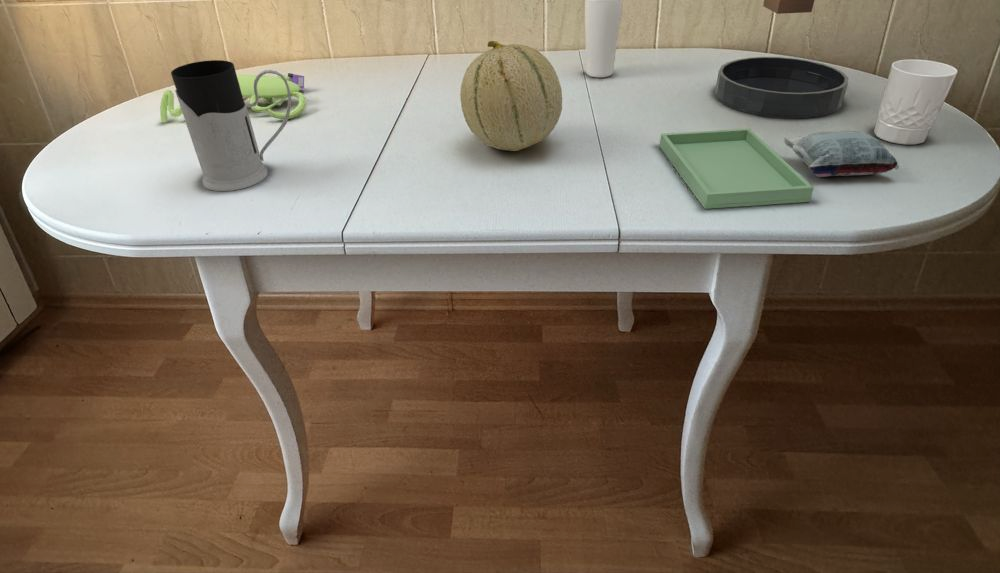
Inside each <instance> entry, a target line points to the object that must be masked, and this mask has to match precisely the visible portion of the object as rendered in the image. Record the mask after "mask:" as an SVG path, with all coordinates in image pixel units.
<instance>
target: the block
mask: <svg viewBox="0 0 1000 573" xmlns="http://www.w3.org/2000/svg"><path fill="white" fill-rule="evenodd" d="M814 4H815V0H763V4H762V7H763V8H766V9H768V10H769V11H771V12H772V13H773V12H774V13H775V14H777V15H781V14H801V13H802V14H803V13H812V12H813V8H814Z"/></svg>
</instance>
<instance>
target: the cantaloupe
mask: <svg viewBox="0 0 1000 573" xmlns="http://www.w3.org/2000/svg"><path fill="white" fill-rule="evenodd" d="M487 47H488V48H491V49H489V50H487V51H484V52H483V53H481V54H480V55H478V56H477V57H476V58H474V59H473V60H472V61H471V63H470V64H469V66H468V67H467V68H466V70H465V73H464V74H463V77H462V81H461V84H460V92H459V93H460V94H459V96H460V97H459V98H460V105H461V111H462V113H463V114H462V115H463V117H464V120H465V122H466V125H467V126H468V128H469V130H470V132H471V133H472V134H473V135H474V136H475V138H477V139H478V140H479V141H481V142H482V143H483V144H484V145H487V146H489V147H491V148H493V149H497V150H500V151H501V150H502V151H509V152H517V151H522V150H524V149H527V148H530V147H531V146H533V145H536V144H537V143H539V142H542V141H543V140H545V139H546V138H547V137H549V135H550V134H551V133H552V132H553V131H554V130H555V128H556V125H557V124H558V122H559V120H560V117H561V114H562V111H563V92H562V91H563V90H562V86H561V82H560V79H559V76H558V74H557V72H556V70H555V68H554V66H553V65H552V64H551V62H550V61H549V59H548V58H547V57H546V56H545V55H543V53H541V52H540V51H539V50H538V49H536V48H534V47H531V46H528V45H525V44H515V43H511V44H501V43H499V42H498V41H496V40H489V41H488V42H487Z"/></svg>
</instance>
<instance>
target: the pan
mask: <svg viewBox="0 0 1000 573" xmlns="http://www.w3.org/2000/svg"><path fill="white" fill-rule="evenodd" d="M848 85H849V77H848V76H847V75H846V73H845V72H843V71H842V70H840V69H838V68H837V67H835V66H831V65H828V64H825V63H823V62H822V63H821V62H817V61H812V60H810V59H809V60H808V59H803V58H794V57H785V56H754V57H753V56H752V57H751V56H750V57H745V58H739V59H734V60H730V61H728V62H725V63H724V64H722V65H721V66H720V67H719V69H718V72H717V77H716V84H715V89H714V91H715V93H714V94H715V97H716V99H717V100H718V101H719V102H720V103H721V104H723V105H724V106H726V107H728V108H730V109H734V110H735V111H738V112H742V113H746V114H750V115H755V116H759V117H766V118H773V119H787V120H788V119H791V120H798V119H800V120H801V119H802V120H803V119H812V118H820V117H824V116H828V115H831V114H834V113H836V112H837V111H838V110H840V108H841V107H842V105H843V103H844V98H845V96H846V93H847V89H848Z"/></svg>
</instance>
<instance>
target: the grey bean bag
mask: <svg viewBox="0 0 1000 573" xmlns="http://www.w3.org/2000/svg"><path fill="white" fill-rule="evenodd" d="M783 142H784V144H785V145H786V146H787V147H788V148H790V149H792V151H793V152H794V153H795V155H796V156H798V157H799V158H800V159H801V160H802V161H803V162H804V163H805V164H806V165H807V166H808V167H807V170H808V169H809V171H810V172H812V173H813V174H814V176H817V177H819V178H820V177H821V178H822V177H823V178H825V177H839V176H840V177H849V176H867V175H874V174H881V173H887V172H890V171H892V170H898V169H900V165H899V162H898V161H897V159H896V158H895V156H894V155H893V154H892V153H891V152H890V151H889V150H888V148H886V147H885V145H883V144H882V142H881V141H880V140H878V139H876V138H875V137H873V135H870V134H868V133H865V132H860V131H857V130H856V131H855V130H839V131H837V130H836V131H821V132H815V133H810V134H806V135H803V136H798V137H796V138H794V139H787V138H786V137H784V139H783Z"/></svg>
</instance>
